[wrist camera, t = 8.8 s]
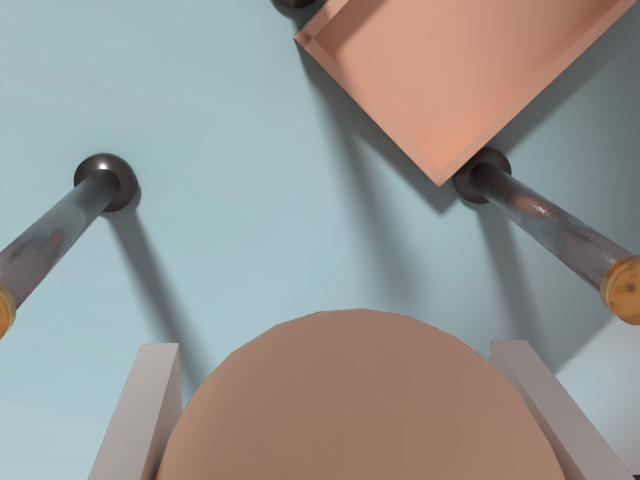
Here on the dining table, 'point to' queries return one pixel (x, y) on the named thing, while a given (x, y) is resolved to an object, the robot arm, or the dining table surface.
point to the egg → (357, 409)
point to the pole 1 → (61, 229)
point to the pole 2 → (556, 231)
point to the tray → (450, 64)
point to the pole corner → (295, 3)
